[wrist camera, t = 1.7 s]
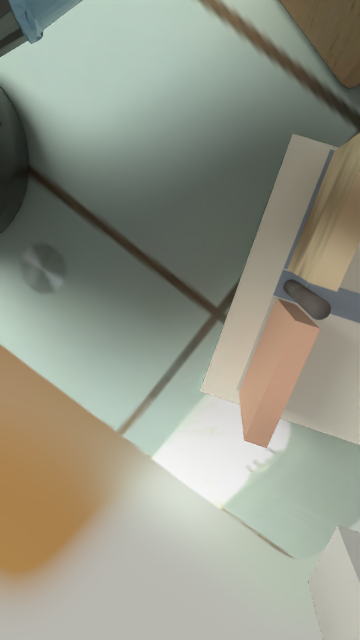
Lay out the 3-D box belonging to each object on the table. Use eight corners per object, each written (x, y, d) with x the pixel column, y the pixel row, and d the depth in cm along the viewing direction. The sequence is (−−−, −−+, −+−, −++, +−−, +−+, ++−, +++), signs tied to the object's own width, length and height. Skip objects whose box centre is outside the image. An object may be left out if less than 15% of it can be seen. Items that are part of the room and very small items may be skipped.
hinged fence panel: (276, 298, 27) (295, 320, 20) (295, 304, 27) (320, 328, 20) (238, 392, 29) (244, 440, 23) (256, 398, 29) (266, 448, 23)
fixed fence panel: (296, 295, 27) (329, 323, 19) (277, 289, 27) (302, 315, 19) (353, 158, 24) (421, 120, 16) (332, 151, 24) (390, 111, 16)
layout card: (200, 388, 31) (200, 392, 30) (291, 135, 25) (293, 133, 24) (367, 444, 30) (370, 449, 30) (502, 200, 24) (510, 199, 23)
